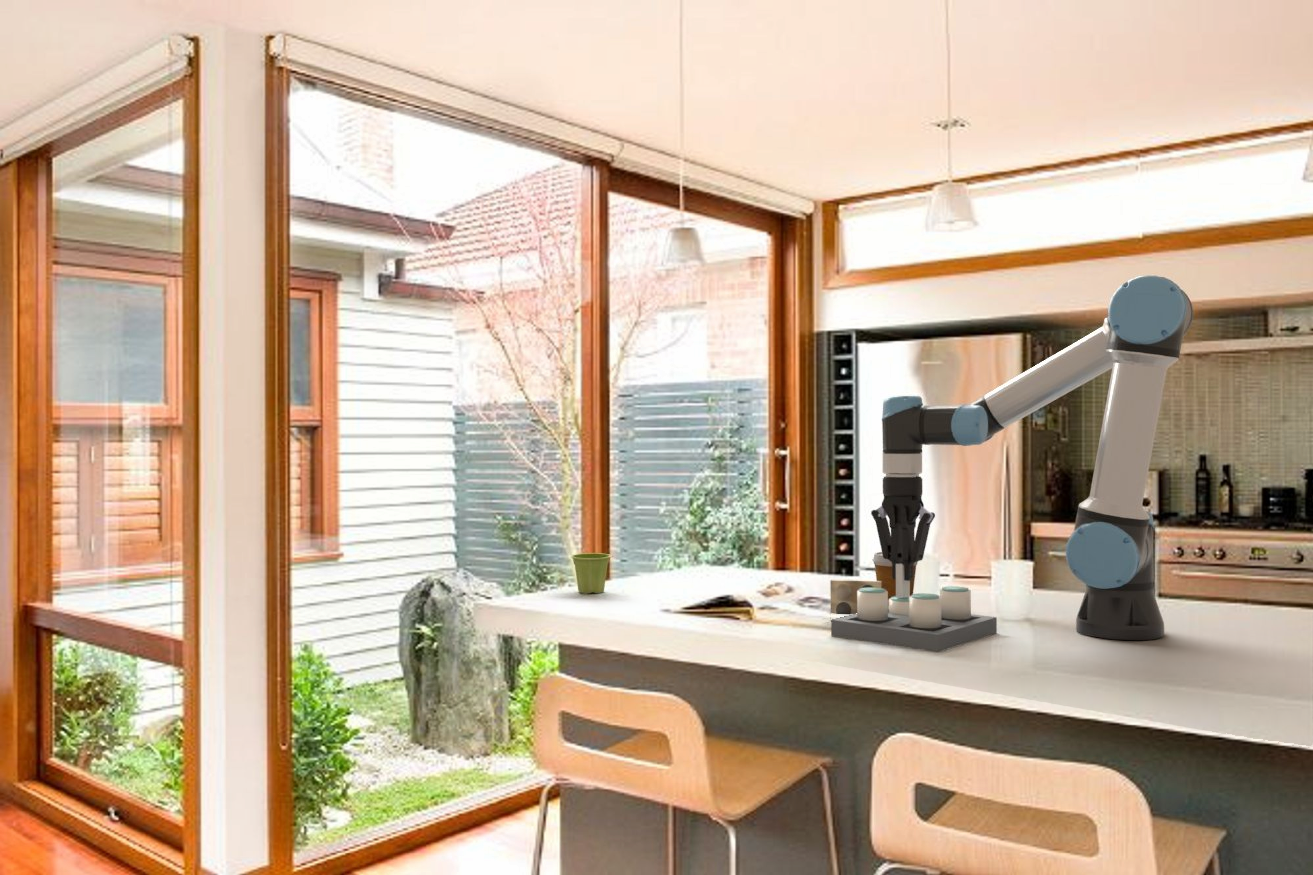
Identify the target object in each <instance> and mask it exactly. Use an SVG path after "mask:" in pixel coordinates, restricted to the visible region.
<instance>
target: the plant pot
mask: <svg viewBox="0 0 1313 875" xmlns="http://www.w3.org/2000/svg"><path fill="white" fill-rule="evenodd" d="M611 557H612V555H611V554H609V553H608V554H607V553H600V552H598V553H597V552H590V553H584V552H583V553H576V554H573V555H571V559H572V560H573V565H574V568H575V570H574V571H575V577H576V584H577V591H578V592H579V593H580V594H591V593H595V594H601V593H604V592H605V587H606V586H605V585H606V578H607V570H608V564H609V561H610V558H611Z"/></svg>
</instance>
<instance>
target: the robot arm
mask: <svg viewBox="0 0 1313 875" xmlns="http://www.w3.org/2000/svg"><path fill="white" fill-rule="evenodd" d="M1107 314H1108V315H1107V317H1105V318H1104V320H1103V324H1102V326H1100V327H1099V328H1097V329H1096V330H1094V331H1093V332H1091V333H1089V334H1088V335H1086V336H1084V337H1083V338H1081V339H1079V340H1077V341H1076V342H1073V343H1072V344H1071V345H1069V346H1067V347H1065V348H1064V349H1062V350H1060V351H1058V352H1057V353H1055V354H1053V355H1051V356H1050V357H1047V358H1046V359H1045V360H1043V361H1041V362H1040V363H1037V364H1036V365H1035V366H1033V367H1031V368H1029V369H1027V370H1025V371H1024V372H1022V373H1020V374H1019V375H1017V376H1016V377H1014V378H1012V379H1010V380H1008V381H1007V382H1005V383H1004V384H1002V385H1000V386H998V387H997V388H995V389H994V390H992V391H990V392H988V393H987V394H985V395H983V396H982V397H980V398H978V399H976V400H975V401H973V402H971V403H970V404H961V405H960V404H956V405H954V404H953V405H927V404H926V405H924V403H923V399H922V397H921V396H920V395H889V396H887V397H885V398H884V400H883V404H882V418H881V424H882V427H881V428H882V431H881V432H882V473H883V474H885V476H883V478H882V495H883V499H882V502H881V506H879V507H878V508H877V509H872V510H871V513H870V515H871V516H872V518H873V520H874V522H875V525H876V530H877V534H878V539H879V544H880V548H881V552H882V555H883V558H884V559H888V560H890V561H891V562H892V577H893V579H896V597H897V598H906V597H910V580H913V564H914V563H915V562H917V561H918V562H920V561H922V560H923V559H924V555H925V551H926V546H927V541H928V535H929V532H930V528H931V524H932V522H933V521H934V519H935V517H936V514H935V512H933V511H932V512H930V511H928V510H927V509H926V508H925V506H924V503H923V499H922V497H923V478H922V477H921V476H920V474H922V473H923V445H924V446H925V445H926V446H929V445H936V446H962V447H966V446H968V447H969V446H977V445H982V444H984V443H985V442H988V441H989V440H990V439H992V438H993V436H995V434H998V433H999V432H1001V431H1002V430H1004V429H1006V428H1008V427H1009V426H1011V425H1012V424H1014V423H1017V422H1018V421H1020V420H1022V419H1023V418H1025V417H1027V416H1029V415H1032V413H1034V412H1037V411H1038V410H1040V409H1041V408H1044V407H1045V406H1048V404H1050V403H1052V402H1054V401H1055V400H1058V399H1060V398H1061V397H1063V396H1065V395H1066V394H1068V393H1070V392H1072V391H1074V390H1075V389H1077V388H1079V387H1081V386H1083V385H1085V384H1086V383H1088V382H1090V381H1092V380H1094V379H1095V378H1097V377H1098V376H1101V375H1102V374H1105V373H1106V372H1108V371H1109V370H1111V374H1110V380H1109V385H1108V391H1107V397H1106V400H1105V402H1106V403H1105V407H1104V408H1105V409H1104V413H1103V418H1102V423H1101V431H1100V435H1099V436H1100V437H1099V442H1098V448H1097V453H1096V459H1095V463H1094V469H1093V476H1092V479H1091V480H1092V481H1091V485H1090V492H1089V496H1088V497H1087V498H1086V499H1085V500H1083V501H1082V502H1080V503H1079V504H1078V506H1077V513H1076V517H1075V523H1074V529H1073V531H1072V533H1071V534H1070V536H1069V537H1068V540H1067V543H1066V546H1065V547H1066V548H1065V559H1066V562H1067V565H1068V567H1069V570H1071V571H1070V572H1072V574H1073V575H1074V576H1075V577H1076V578H1077V579H1078V580H1079V581H1080V582H1081V583H1084V584H1085V591H1084V595H1083V597H1082V601H1081V603H1080V607H1079V609H1078V612H1077V616H1076V619H1075V629H1076V632H1078V633H1080V634H1082V635H1086V636H1089V637H1096V638H1100V639H1101V638H1102V639H1108V640H1109V639H1110V640H1120V641H1121V640H1122V641H1123V640H1126V641H1145V640H1148V641H1150V640H1155V639H1161V638H1163V637H1164V636H1165V622H1164V619H1163V616H1162V613H1161V610H1160V607H1159V604H1158V602H1157V598H1156V596H1155V592H1154V591H1155V590H1154V587H1155V585H1154V584H1155V583H1154V580H1155V578H1154V577H1155V576H1154V575H1155V574H1154V573H1155V572H1154V566H1155V565H1154V561H1155V560H1154V558H1155V557H1154V532H1155V528H1156V527H1155V524H1154V517H1153V514H1152V513H1151V512H1150V511H1147V510H1146V509H1144V506H1143V503H1144V496H1145V491H1146V484H1147V480H1148V474H1149V470H1150V464H1151V458H1152V453H1153V449H1154V448H1153V447H1154V442H1155V438H1156V431H1157V426H1158V422H1159V421H1158V420H1159V416H1160V409H1161V404H1162V400H1163V399H1162V398H1163V394H1164V387H1165V382H1166V377H1167V371H1168V369H1169V368H1170V367H1171V366H1173V365H1174V364H1176V363H1177V362H1178V361H1179V359H1180V354H1181V349H1182V343H1183V338H1184V336H1185V335H1186V334H1187V333H1188V331H1189V330H1190V328H1191V325H1192V323H1193V318H1194V308H1193V305H1192V302H1191V300H1190V297H1189V296H1188V295H1187V293H1186V291H1184V290H1182V289H1181V287H1180V286H1179V285H1178V284H1177V283H1175V282H1174V281H1172V279H1169V278H1166V277H1164V276H1158V275H1141V276H1137V277H1133V278H1131V279H1129V280H1127V281H1126V282H1124V283H1123V284H1122V285H1120V286H1119V287H1118V288H1117V289H1116V290H1115V291H1114V293H1113V295H1112V296H1111V298H1110V301H1109V305H1108V309H1107ZM887 517H888V518H887ZM888 519H889V522H888ZM917 519H919V521H918V524H917V522H916V521H917ZM916 524H917V527H916ZM915 528H917V529H916V531H915ZM915 532H916V533H915ZM918 562H917V563H918Z"/></svg>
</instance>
